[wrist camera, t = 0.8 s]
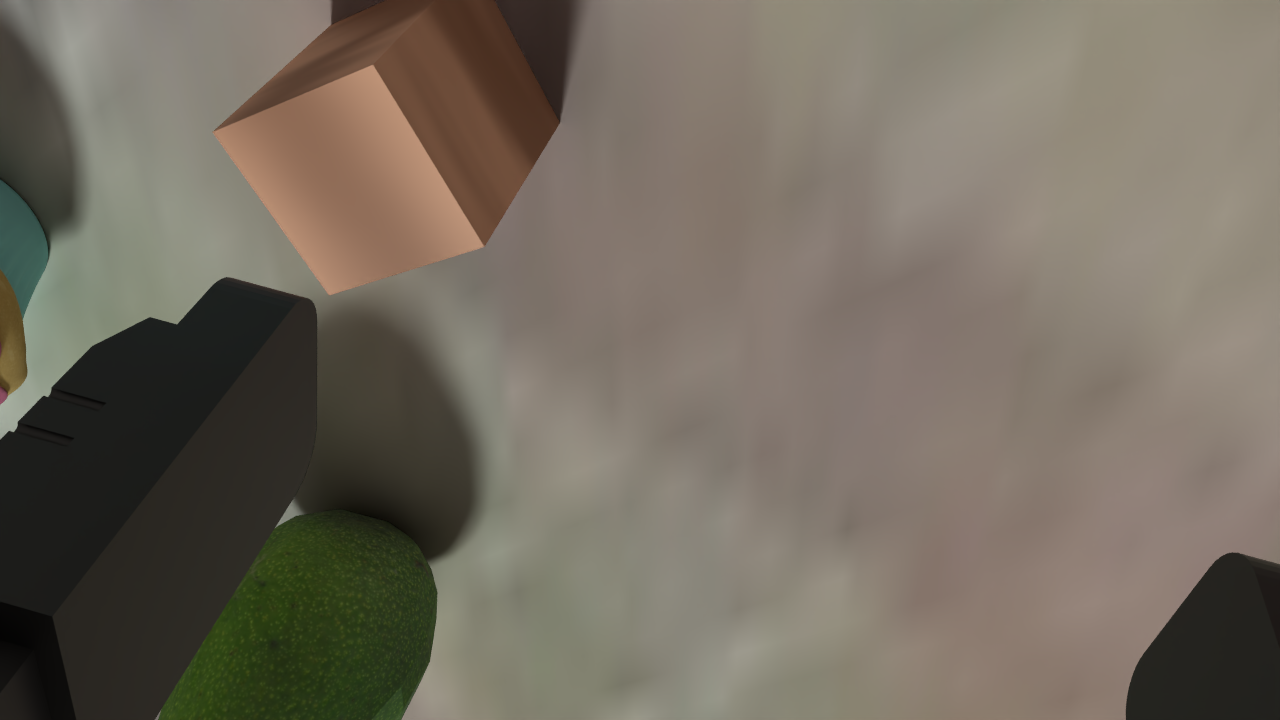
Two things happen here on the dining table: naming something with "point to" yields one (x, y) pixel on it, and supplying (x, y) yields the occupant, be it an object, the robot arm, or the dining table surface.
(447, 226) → the brown block
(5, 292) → the cupcake
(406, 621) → the avocado
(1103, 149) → the dining table surface
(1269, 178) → the dining table surface
